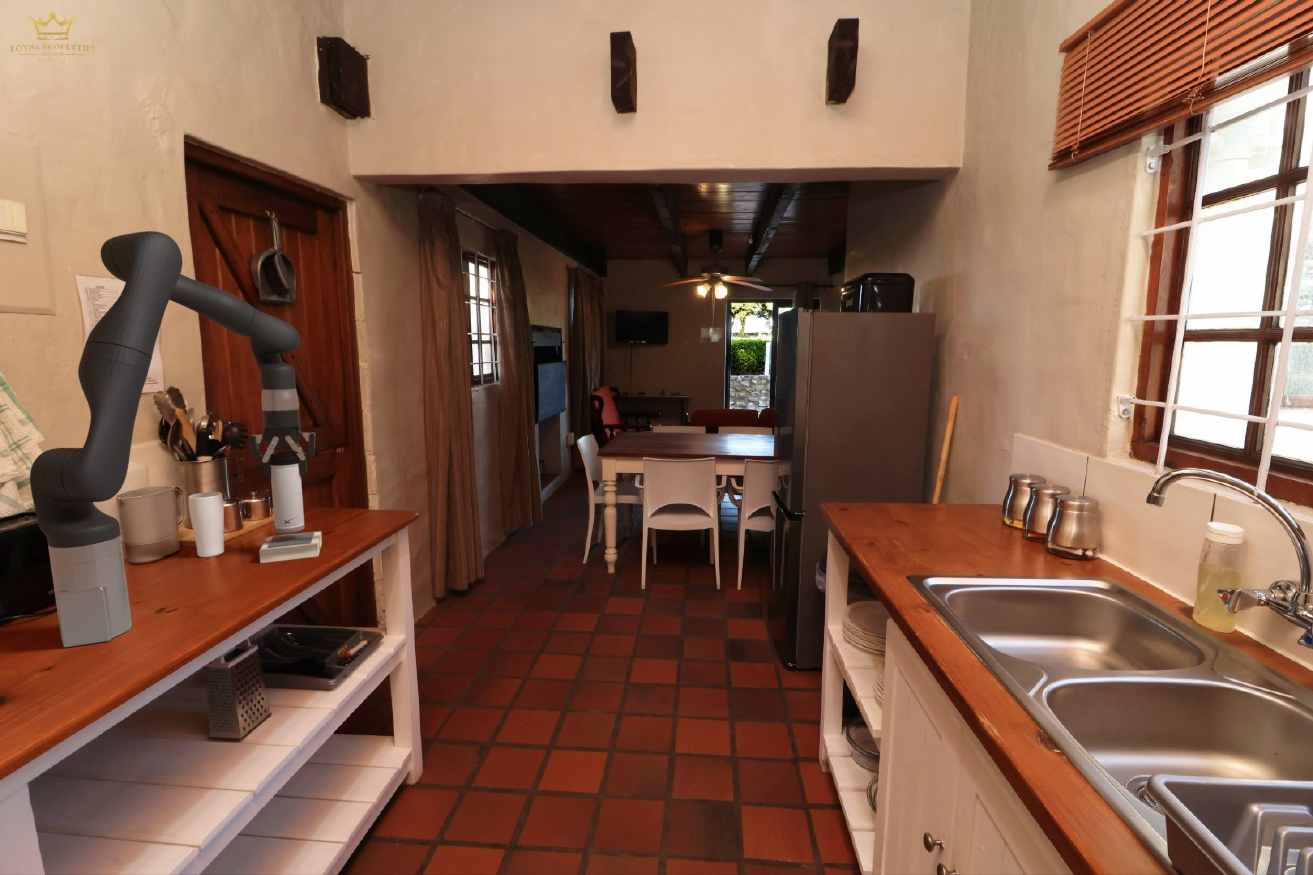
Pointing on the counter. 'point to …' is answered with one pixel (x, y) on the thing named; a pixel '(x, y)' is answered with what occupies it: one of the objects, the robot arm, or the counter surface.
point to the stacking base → (291, 547)
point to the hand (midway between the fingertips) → (286, 475)
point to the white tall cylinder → (207, 522)
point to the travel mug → (287, 492)
